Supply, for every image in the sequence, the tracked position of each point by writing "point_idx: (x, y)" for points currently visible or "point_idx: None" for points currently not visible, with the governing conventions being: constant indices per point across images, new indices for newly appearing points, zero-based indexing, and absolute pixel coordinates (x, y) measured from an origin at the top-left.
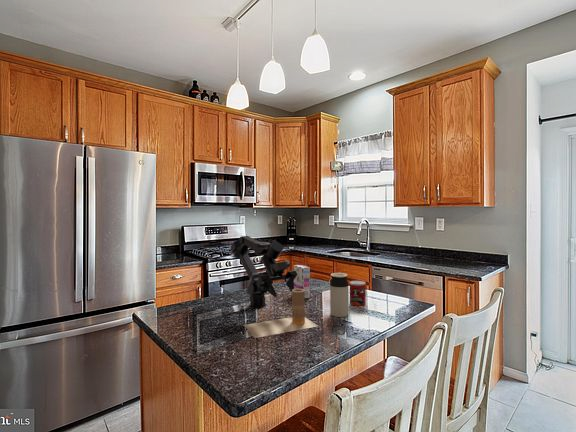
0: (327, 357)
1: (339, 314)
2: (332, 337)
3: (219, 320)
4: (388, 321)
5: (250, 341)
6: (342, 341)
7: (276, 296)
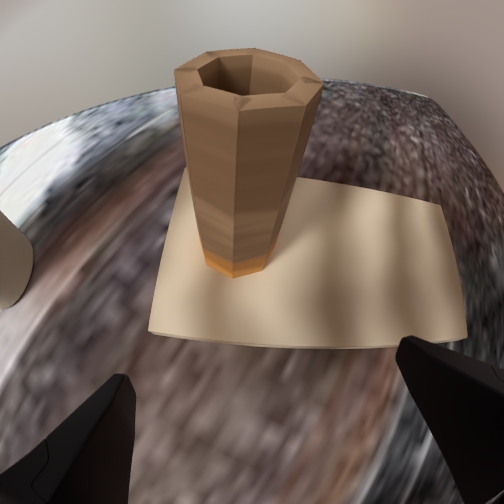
0: None
1: (24, 235)
2: None
3: None
4: (5, 158)
5: None
6: None
7: (403, 340)
